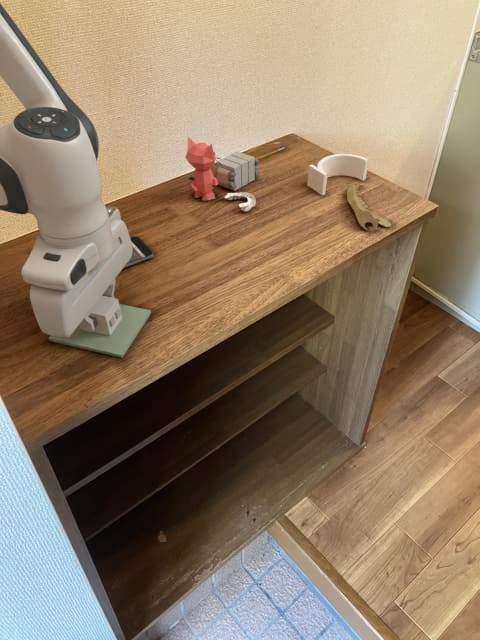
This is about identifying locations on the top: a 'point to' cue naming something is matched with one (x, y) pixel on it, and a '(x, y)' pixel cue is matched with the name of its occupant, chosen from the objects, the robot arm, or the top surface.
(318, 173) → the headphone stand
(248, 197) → the dentures
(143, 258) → the smartphone
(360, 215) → the mandible
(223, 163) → the electrical component
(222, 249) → the top surface
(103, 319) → the block
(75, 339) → the desk mat
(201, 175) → the cat figurine
